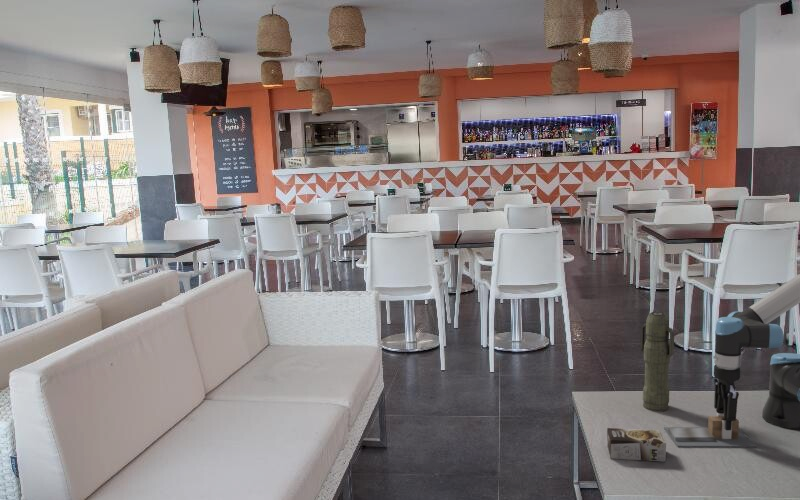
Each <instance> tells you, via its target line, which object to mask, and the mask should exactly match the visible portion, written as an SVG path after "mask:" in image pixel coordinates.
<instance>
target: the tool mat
mask: <svg viewBox="0 0 800 500" xmlns="http://www.w3.org/2000/svg"><path fill="white" fill-rule="evenodd" d="M668 428H706V429H707V430H708V426H707V427H706V426H705V427H704V426H699V427H697V426H695V427H694V426H690V427H689V426H688V427H687V426H683V427H682V426H680V427H679V426H678V427H677V426H676V427H675V426H674V427H673V426H672V427H671V426H669V427H668V426H666V427H665V426H664V427H663V430H664V431H665V432H666V433H667V435H668V437H669V438H670V439H671V440H672V442H673V443H674V444H675V446H676V447H677V448H758V445H757V444H756V443H755V442H754V441H753V440H752V439H751V438H750V437H749V436H748V435H747V434H746V433H744V431H743V430H742V429H741V428H739V429H738V439H714V441H675V440H674V438H673V437H672V436H671V434H670V433H669V432H668Z"/></svg>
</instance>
